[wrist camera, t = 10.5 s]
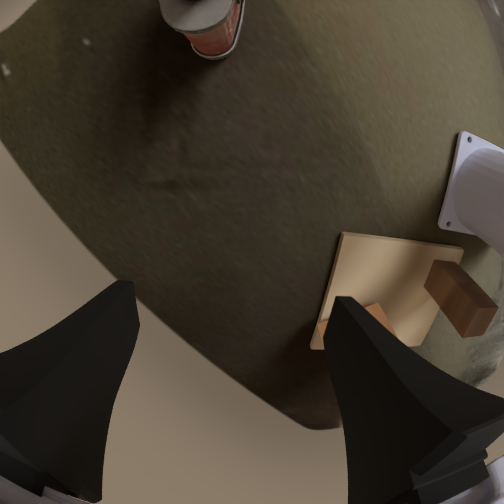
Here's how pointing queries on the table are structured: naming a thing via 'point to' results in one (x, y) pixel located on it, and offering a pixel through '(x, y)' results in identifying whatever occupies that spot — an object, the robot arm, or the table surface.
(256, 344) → the table surface
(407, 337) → the board
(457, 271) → the post
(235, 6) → the lighter
